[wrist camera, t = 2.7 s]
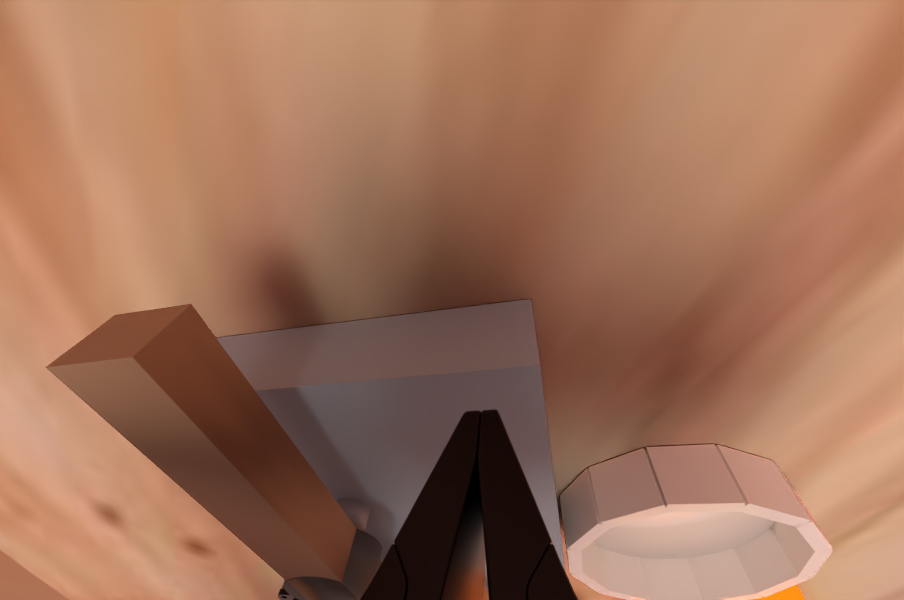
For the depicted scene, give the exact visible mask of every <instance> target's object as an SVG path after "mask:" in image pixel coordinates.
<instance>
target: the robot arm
mask: <svg viewBox="0 0 904 600" xmlns="http://www.w3.org/2000/svg"><path fill="white" fill-rule="evenodd" d="M394 543H395V544H392V545H391V547H390V549H389V551H388V552H387V554H386V556H385V558H384V560H383V562H382V563H381V565H380V567H379V569H378V570H377V572H376V574H375V575H374V577H373V579H372V581H371V582H370V584H369V586H368V587H367V589H366V591H365V592H364V594H363V595H362V597H361V598H360V600H483V592H484V578H485V564H486V569H487V581H488V593H489V600H578V598H577V596H576V594H575V593H574V590H573V588H572V586H571V584H570V581H569V579H568V577H567V575H566V572H565V570H564V568H563V566H562V563H561V561H560V559H559V556H558V554H557V551H556V549H555V546H554V545H553V544H552V540H551V537H550V535H549V532H548V530H547V528H546V525H545V523H544V520H543V518H542V515H541V513H540V511H539V508H538V506H537V503H536V501H535V499H534V496H533V494H532V491H531V489H530V486H529V484H528V482H527V479H526V477H525V474H524V472H523V470H522V467H521V465H520V462H519V460H518V457H517V455H516V453H515V450H514V448H513V445H512V443H511V440H510V438H509V436H508V433H507V431H506V428H505V426H504V424H503V421H502V419H501V416H500V414H499V412H498V410H496V409H490V410H483V411H482V412H481V411H479V410H476V411H466V412H464V414H463V415H462V417H461V419H460V421H459V423H458V424H457V426H456V428H455V430H454V432H453V434H452V435H451V437H450V439H449V441H448V443H447V445H446V446H445V448H444V450H443V452H442V454H441V456H440V457H439V459H438V461H437V463H436V465H435V467H434V468H433V470H432V472H431V474H430V476H429V478H428V479H427V481H426V483H425V485H424V487H423V489H422V490H421V492H420V494H419V496H418V498H417V500H416V501H415V503H414V505H413V507H412V509H411V511H410V512H409V514H408V516H407V518H406V520H405V522H404V523H403V525H402V527H401V529H400V531H399V533H398V534H397V536H396V538H395V540H394ZM278 597H279V598H280V599H282V600H298V599H296V598H294V597H293V596H291V595H290V594H288V593H287V592H286V591H285V589H280V591H279V594H278Z"/></svg>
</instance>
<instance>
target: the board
mask: <svg viewBox="0 0 904 600" xmlns="http://www.w3.org/2000/svg"><path fill="white" fill-rule="evenodd" d="M217 340H218V341H219V342H220V344H221V345H222V347H223V348H224V349H225V351H226V352H227V353H228V355H229V356H230V357H231V359H232V360H233V361H234V363H235V364H236V366H237V367H238V368H239V370H240V371H241V372H242V374H243V375H244V376H245V378H246V379H247V380H248V382H249V383H250V385H251V386H252V387H253V389H254V390H255V391H256V393H257V394H258V395H259V397H260V398H261V399H262V401H263V402H264V404H265V405H266V406H267V408H268V409H269V410H270V412H271V413H272V414H273V416H274V417H275V418H276V420H277V421H278V423H279V424H280V425H281V427H282V428H283V429H284V431H285V432H286V433H287V435H288V436H289V437H290V439H291V440H292V441H293V443H294V444H295V446H296V447H297V448H298V450H299V451H300V452H301V454H302V455H303V456H304V458H305V459H306V460H307V462H308V463H309V465H310V466H311V467H312V469H313V470H314V471H315V473H316V474H317V475H318V477H319V478H320V479H321V481H322V482H323V484H324V485H325V486H326V488H327V489H328V490H329V492H330V493H331V494H332V496H333V497H334V498H335V500H336V501H337V503H338V504H339V505H340V507H341V508H342V509H343V511H344V512H345V513H346V515H347V516H348V517H349V519H350V520H351V522H352V523H353V524H354V526H355V527H356V528H357V529H359V530H362V531H364V532H366V533H368V534H370V535H372V536H373V537H374V538H376V539H377V540H378V541H379V542H380V544H381V546H382V552H381V557H380V561H381V562H383V560H384V558H385V556H386V554H387V552H388V551H389V549H390V547H391V545H392V544H395V543H394V540H395V538H396V536H397V534H398V533H399V531H400V529H401V527H402V525H403V523H404V522H405V520H406V518H407V516H408V514H409V512H410V511H411V509H412V507H413V505H414V503H415V501H416V500H417V498H418V496H419V494H420V492H421V490H422V489H423V487H424V485H425V483H426V481H427V479H428V478H429V476H430V474H431V472H432V470H433V468H434V467H435V465H436V463H437V461H438V459H439V457H440V456H441V454H442V452H443V450H444V448H445V446H446V445H447V443H448V441H449V439H450V437H451V435H452V434H453V432H454V430H455V428H456V426H457V424H458V423H459V421H460V419H461V417H462V415H463V414H464V412H466V411H476V410H479V411H481V412H482V411H483V410H490V409H496V410H498V412H499V414H500V416H501V419H502V421H503V424H504V426H505V428H506V431H507V433H508V436H509V438H510V440H511V443H512V445H513V448H514V450H515V453H516V455H517V457H518V460H519V462H520V465H521V467H522V470H523V472H524V474H525V477H526V479H527V482H528V484H529V486H530V489H531V491H532V494H533V496H534V499H535V501H536V503H537V506H538V508H539V511H540V513H541V515H542V518H543V520H544V523H545V525H546V528H547V530H548V532H549V535H550V537H551V540H552V544H553V545H554V546H555V549H556V551H557V554H558V556H559V559H560V561H561V563H562V566H563V568H564V570H565V564H564V556H563V548H562V540H561V531H560V523H559V515H558V507H557V498H556V490H555V482H554V474H553V465H552V457H551V449H550V441H549V432H548V424H547V416H546V408H545V399H544V391H543V383H542V375H541V366H540V359H539V352H538V345H537V337H536V330H535V323H534V316H533V308H532V301H531V299H526V300H518V301H510V302H502V303H494V304H486V305H478V306H470V307H462V308H454V309H446V310H437V311H429V312H421V313H413V314H405V315H397V316H389V317H381V318H373V319H365V320H357V321H348V322H340V323H332V324H324V325H316V326H308V327H300V328H292V329H284V330H276V331H268V332H260V333H251V334H243V335H235V336H227V337H219V338H217ZM484 587H485V588H486V589H487V590H488V581H487V569H486V564H485V578H484Z"/></svg>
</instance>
